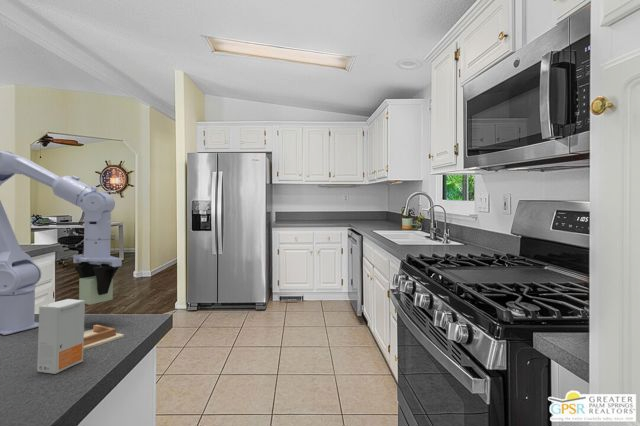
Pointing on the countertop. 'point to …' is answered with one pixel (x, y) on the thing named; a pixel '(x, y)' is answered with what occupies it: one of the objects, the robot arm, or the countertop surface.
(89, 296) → the chute block
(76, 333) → the skincare box
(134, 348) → the countertop surface
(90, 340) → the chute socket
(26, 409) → the countertop surface
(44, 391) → the countertop surface
